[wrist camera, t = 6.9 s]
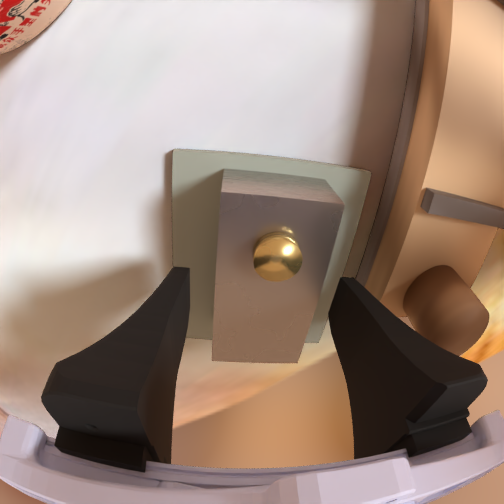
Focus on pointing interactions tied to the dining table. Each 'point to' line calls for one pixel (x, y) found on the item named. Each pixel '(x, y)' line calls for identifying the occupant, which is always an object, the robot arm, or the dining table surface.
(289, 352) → the lever cap
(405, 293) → the plane body
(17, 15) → the teacup with lid
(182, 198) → the felt pad
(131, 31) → the dining table surface
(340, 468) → the robot arm
